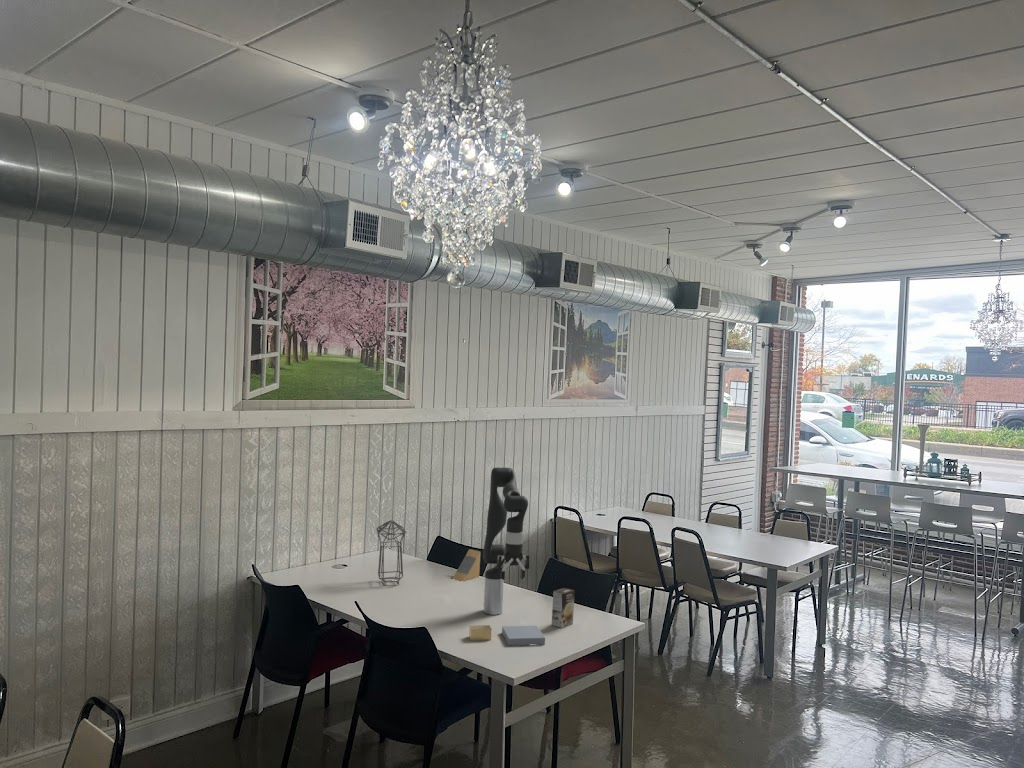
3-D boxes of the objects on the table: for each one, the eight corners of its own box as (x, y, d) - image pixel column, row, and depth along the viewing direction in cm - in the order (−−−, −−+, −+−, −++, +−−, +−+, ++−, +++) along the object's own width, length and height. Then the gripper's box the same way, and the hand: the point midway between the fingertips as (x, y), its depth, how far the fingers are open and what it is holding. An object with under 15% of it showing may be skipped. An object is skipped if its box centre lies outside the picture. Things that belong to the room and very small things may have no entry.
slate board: (502, 632, 334) (502, 626, 334) (536, 632, 338) (536, 625, 338) (508, 645, 319) (509, 638, 319) (544, 644, 322) (545, 637, 322)
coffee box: (562, 628, 345) (563, 593, 345) (551, 624, 349) (552, 590, 349) (573, 623, 352) (574, 590, 352) (562, 620, 356) (563, 587, 356)
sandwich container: (451, 579, 421) (452, 553, 421) (467, 574, 434) (469, 548, 434) (462, 582, 416) (463, 555, 416) (479, 577, 429) (480, 551, 429)
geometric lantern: (405, 587, 401) (407, 523, 401) (376, 588, 397) (377, 523, 397) (402, 578, 417) (404, 517, 416) (374, 580, 413) (375, 517, 412)
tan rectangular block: (469, 636, 328) (469, 625, 328) (489, 636, 330) (489, 625, 330) (470, 640, 323) (471, 629, 323) (491, 640, 325) (491, 629, 325)
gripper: (527, 539, 326) (525, 576, 326) (496, 540, 322) (494, 577, 322) (532, 543, 319) (530, 580, 319) (500, 544, 315) (499, 582, 315)
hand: (512, 579), depth 321 cm, fingers open, 8 cm apart
